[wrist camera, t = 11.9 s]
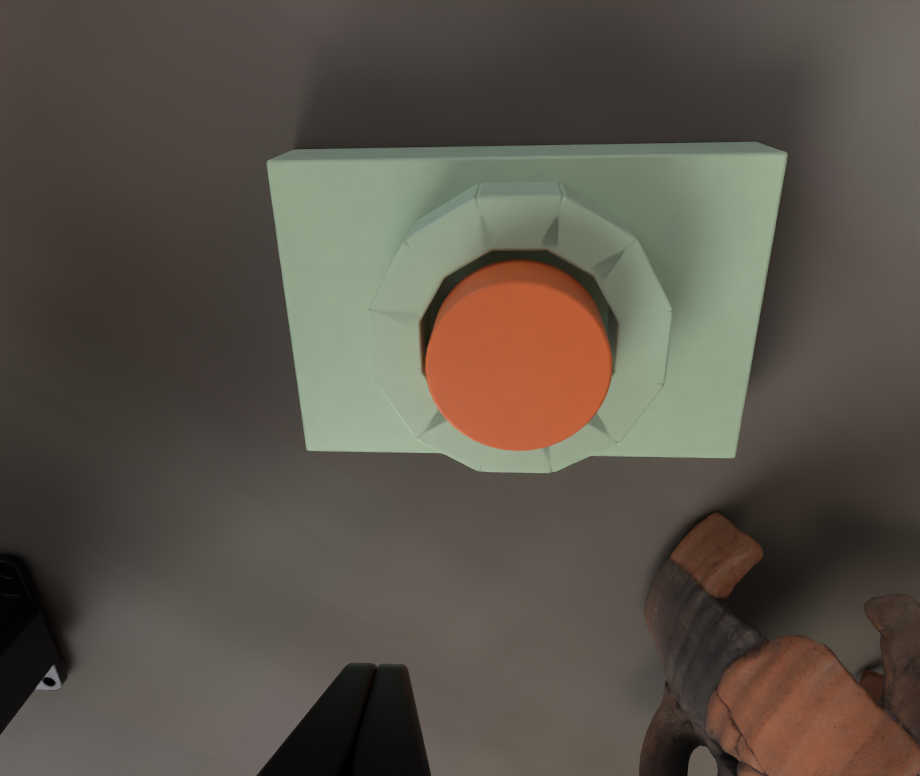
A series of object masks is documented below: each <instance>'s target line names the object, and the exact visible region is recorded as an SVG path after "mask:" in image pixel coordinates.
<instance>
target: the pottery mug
mask: <svg viewBox="0 0 920 776" xmlns="http://www.w3.org/2000/svg"><path fill="white" fill-rule="evenodd" d="M762 557H763V550H762V548H761V546H760V545H759V544H758V543H757V542H756V541H755V540H754V539H753V538H752V537H751V536H749V535H748V534H746V533H743V532H741V531H740V530H738V529H737V528H736V527H735V526H734V525H733V524H732V523H731V522H730V521H729V520H727V519H726V518H725V517H724V516H723V515H722V514H720V513H713V514H711V515H709V516H708V517H707V518H706V519H705V520H703V521H702V522H700V523H699V524H697V525H696V526H695V527H694V528H693V529H692V530H691V531H690V533H689V534H688V535H686V536H685V537H684V538H683V539H682V540H681V542H680V543H679V545H678V546H677V548H676V549H675V550H674V551H673V552H672V554H671V556H670V558H669V559H667V560H666V561H665V563H664V564H663V566H662V567H661V569H660V571H659V573H658V575H657V577H656V578H655V579H654V580H653V581H652V583H651V588H650V591H649V594H648V596H647V598H646V604H645V616H646V621H647V625H648V628H649V630H650V633H651V635H652V637H653V639H654V642H655V646H656V649H657V652H658V655H659V658H660V661H661V664H662V666H663V669H664V672H665V675H666V681H665V685H664V696H663V700H662V702H661V704H660V706H659V708H658V710H657V712H656V713H655V715H654V717H653V719H652V721H651V723H650V725H649V728H648V730H647V733H646V736H645V739H644V742H643V745H642V750H641V755H640V765H639V776H687V773H688V763H689V759H690V755H691V753H692V752H693V750H694V749H695V748H697V747H698V746H700V745H701V746H706V747H708V749H709V750H710V752H711V754H712V755H713V756H714V758H715V759H716V762H717V767H718V775H717V776H919V772H920V605H919V604H918V603H917V602H916V601H915V600H913V599H912V598H911V597H909V596H907V595H903V594H890V595H885V596H880V597H875V598H872V599H871V600H869V601H867V602H866V603H865V604H864V611H865V614H866V616H867V617H868V619H869V620H870V622H871V623H872V624H873V626H874V627H875V628H876V629H877V630H878V632H879V633H880V634H881V639H880V647H881V651H882V657H883V670H884V675H882V674H879V673H876V672H873V671H870V670H868V671H865V672H863V674H862V677H861V680H860V682H859V683H858V682H857V681H856V680H855V679H854V677H853V676H852V675H851V674H850V673H849V672H848V670H847V669H846V668H845V667H844V666H843V665H842V664H841V662H840V661H839V660H838V658H837V657H836V655H835V654H834V653H833V652H832V650H831V649H830V648H828V647H827V646H826V645H824V644H820V643H817V642H816V641H814V640H812V639H810V638H808V637H805V636H800V635H794V634H791V635H787V636H782V637H778V638H776V639H774V640H771V641H769V640H767V638H766V637H765V636H764V635H763V634H762V633H761V632H759V631H758V630H756V629H754V628H752V627H751V626H750V625H748V624H747V623H745V622H744V621H743V620H741V619H739V618H738V617H737V616H736V615H734V614H733V613H732V611H731V609H730V608H729V607H728V605H727V604H726V602H725V600H726V599H727V597H728V596H729V595H730V593H731V592H732V590H733V588H734V586H735V585H736V584H737V583H738V582H739V581H740V580H741V579H742V577H743V576H744V575H745V574H746V573H747V572H748V571H749V570H750V569H751V568H752V567H753V566H754V565H755V564H756V563H758V562H759V561H760V560H761V559H762Z"/></svg>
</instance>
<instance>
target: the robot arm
mask: <svg viewBox="0 0 920 776" xmlns="http://www.w3.org/2000/svg"><path fill="white" fill-rule="evenodd" d="M67 678H68V677H67V672H66V670H65V667H64V664H63V662H62V659H61V656H60V654H59V651H58V648H57V646H56V643H55V640H54V638H53V635H52V633H51V630H50V627H49V625H48V622H47V619H46V617H45V614H44V611H43V609H42V606H41V603H40V601H39V598H38V595H37V593H36V590H35V587H34V585H33V582H32V579H31V577H30V574H29V571H28V569H27V566H26V564H25V563H24V561H23V560H22V559H21V558H19V557H17V556H15V555H11V554H0V734H1V733H2V732H3V731H4V729H5V728H6V727H7V725H8V724H9V723H10V721H11V720H12V719H13V717H14V716H15V715H16V713H17V712H18V711H19V709H20V708H21V707H22V706H23V704H24V703H25V702H26V700H27V699H28V698H29V696H30V695H31V694H32V692H33V691H34V690H48V691H55V690H58V689H60V688H61V687H62V685H63V684H64V682H65V681H66V679H67ZM257 776H431V772H430V768H429V763H428V759H427V754H426V750H425V745H424V741H423V736H422V731H421V727H420V722H419V718H418V713H417V709H416V704H415V700H414V695H413V691H412V686H411V681H410V677H409V672H408V669H407V667H406V666H405V665H403V664H381V665H379V666H378V668H377V666H376V665H375V664H373V663H350V664H348V665H346V666H345V667H344V669H343V670H342V671H341V672H340V674H339V675H338V676H337V677H336V678H335V680H334V681H333V682H332V683H331V685H330V686H329V687H328V688H327V690H326V691H325V692H324V693H323V694H322V696H321V697H320V698H319V699H318V701H317V702H316V703H315V704H314V706H313V707H312V708H311V709H310V710H309V712H308V713H307V714H306V715H305V717H304V718H303V719H302V720H301V722H300V723H299V724H298V725H297V726H296V728H295V729H294V730H293V731H292V733H291V734H290V735H289V736H288V738H287V739H286V740H285V741H284V743H283V744H282V745H281V746H280V747H279V749H278V750H277V751H276V752H275V754H274V755H273V756H272V757H271V759H270V760H269V761H268V762H267V763H266V765H265V766H264V767H263V768H262V770H261V771H260V772H259V773H258V775H257Z"/></svg>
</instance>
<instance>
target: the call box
mask: <svg viewBox="0 0 920 776" xmlns="http://www.w3.org/2000/svg"><path fill="white" fill-rule="evenodd" d="M787 157H788V154H787V153H786V152H784V151H781V150H778V149H775V148H772V147H769V146H767V145H764V144H761V143H758V142H714V143H654V144H594V145H534V146H474V147H414V148H354V149H294V150H292V151H290V152H287V153H285V154H282V155H280V156H277V157H275V158H273V159H270V160H268V161H267V170H268V177H269V185H270V192H271V199H272V206H273V213H274V220H275V227H276V235H277V242H278V249H279V256H280V263H281V270H282V278H283V285H284V292H285V299H286V306H287V313H288V321H289V328H290V335H291V342H292V349H293V356H294V364H295V371H296V378H297V385H298V392H299V399H300V406H301V414H302V421H303V428H304V435H305V442H306V449H307V450H308V451H350V452H407V453H443V454H445V455H447V456H449V457H451V458H453V459H455V460H457V461H459V462H461V463H463V464H465V465H467V466H469V467H471V468H473V469H475V470H477V471H480V470H481V471H483V472H520V473H551V472H552V471H553V472H556V471H558V470H561V469H563V468H565V467H567V466H569V465H571V464H574V463H576V462H578V461H580V460H582V459H585V458H587V457H589V456H636V457H694V458H735V456H736V450H737V444H738V439H739V433H740V427H741V421H742V416H743V410H744V404H745V398H746V393H747V387H748V381H749V375H750V370H751V364H752V358H753V352H754V347H755V341H756V335H757V330H758V324H759V318H760V312H761V307H762V301H763V295H764V289H765V284H766V278H767V272H768V266H769V261H770V255H771V249H772V243H773V238H774V232H775V226H776V221H777V215H778V209H779V203H780V198H781V192H782V186H783V180H784V175H785V169H786V163H787ZM513 259H525V260H534V261H539V262H544V263H547V264H550V265H553V266H555V267H557V268H559V269H561V270H563V271H565V272H566V273H568V274H569V275H571V276H572V277H574V278H575V279H576V280H577V281H578V282H579V283H581V284H582V285H583V287H584V288H585V289H586V290H587V291H588V292H589V294H590V295H591V297H592V298H593V300H594V302H595V304H596V306H597V308H598V310H599V312H600V315H601V319H602V322H603V325H604V328H605V331H606V334H607V337H608V340H609V344H610V347H611V352H612V360H613V362H612V377H611V383H610V386H609V390H608V393H607V395H606V397H605V399H604V402H603V404H602V405H601V407H600V408H599V410H598V411H597V413H596V414H595V415H594V416H593V418H592V419H591V420H590V421H589V422H588V423H587V424H586V425H585V426H584V427H583V428H582V429H581V430H579V431H578V432H576V433H575V434H574V435H572V436H571V437H569V438H567V439H565V440H563V441H561V442H559V443H556V444H554V445H551V446H548V447H544V448H541V449H535V450H528V451H510V450H502V449H497V448H493V447H489V446H486V445H483V444H481V443H478V442H476V441H474V440H472V439H470V438H469V437H467V436H465V435H464V434H462V433H461V432H460V431H458V430H457V429H456V428H454V427H453V426H452V425H451V424H450V423H449V422H448V421H447V420H446V418H445V417H444V416H443V415H442V413H441V412H440V411H439V409H438V407H437V406H436V404H435V402H434V400H433V398H432V396H431V393H430V391H429V387H428V383H427V379H426V371H425V363H426V353H427V347H428V344H429V341H430V337H431V334H432V331H433V327H434V324H435V321H436V318H437V315H438V311H439V309H440V307H441V305H442V303H443V301H444V300H445V298H446V297H447V295H448V294H449V292H450V291H451V290H452V289H453V288H454V287H455V285H456V284H458V283H459V282H460V281H461V280H462V279H463V278H464V277H466V276H467V275H469V274H470V273H472V272H473V271H475V270H477V269H479V268H481V267H483V266H486V265H489V264H492V263H495V262H499V261H504V260H513Z"/></svg>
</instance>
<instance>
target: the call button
mask: <svg viewBox="0 0 920 776" xmlns="http://www.w3.org/2000/svg"><path fill="white" fill-rule="evenodd" d="M612 362H613V360H612V352H611V347H610V344H609V340H608V337H607V334H606V331H605V328H604V325H603V322H602V319H601V315H600V312H599V310H598V308H597V306H596V304H595V302H594V300H593V298H592V297H591V295H590V294H589V292H588V291H587V290H586V289H585V288H584V287H583V285H582V284H581V283H579V282H578V281H577V280H576V279H575V278H574V277H572V276H571V275H569V274H568V273H566V272H565V271H563V270H561V269H559V268H557V267H555V266H553V265H550V264H547V263H544V262H539V261H534V260H525V259H513V260H504V261H499V262H495V263H492V264H489V265H486V266H483V267H481V268H479V269H477V270H475V271H473V272H472V273H470V274H469V275H467V276H466V277H464V278H463V279H462V280H461V281H460V282H459V283H458V284H456V285H455V287H454V288H453V289H452V290H451V291H450V292H449V294H448V295H447V297H446V298H445V300H444V301H443V303H442V305H441V307H440V309H439V311H438V315H437V318H436V321H435V324H434V327H433V331H432V334H431V337H430V341H429V344H428V347H427V353H426V363H425V371H426V379H427V383H428V387H429V391H430V393H431V396H432V398H433V400H434V402H435V404H436V406H437V407H438V409H439V411H440V412H441V413H442V415H443V416H444V417H445V418H446V420H447V421H448V422H449V423H450V424H451V425H452V426H453V427H454V428H456V429H457V430H458V431H460V432H461V433H462V434H464V435H465V436H467V437H469V438H470V439H472V440H474V441H476V442H478V443H481V444H483V445H486V446H489V447H493V448H497V449H502V450H510V451H528V450H535V449H541V448H544V447H548V446H551V445H554V444H556V443H559V442H561V441H563V440H565V439H567V438H569V437H571V436H572V435H574V434H575V433H576V432H578V431H579V430H581V429H582V428H583V427H584V426H585V425H586V424H587V423H588V422H589V421H590V420H591V419H592V418H593V416H594V415H595V414H596V413H597V411H598V410H599V408H600V407H601V405H602V404H603V402H604V399H605V397H606V395H607V393H608V390H609V386H610V383H611V377H612Z"/></svg>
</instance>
